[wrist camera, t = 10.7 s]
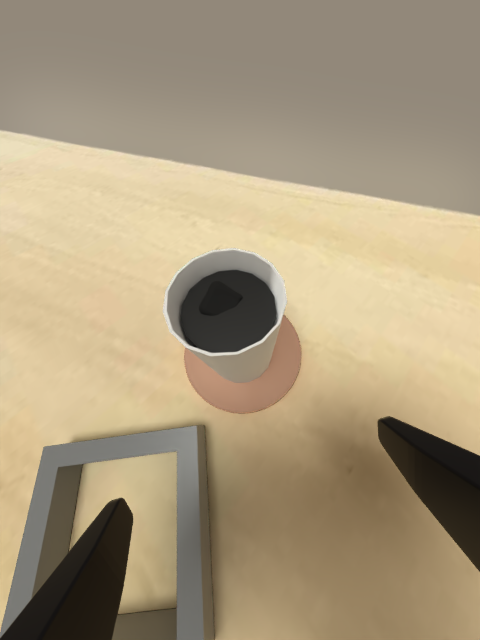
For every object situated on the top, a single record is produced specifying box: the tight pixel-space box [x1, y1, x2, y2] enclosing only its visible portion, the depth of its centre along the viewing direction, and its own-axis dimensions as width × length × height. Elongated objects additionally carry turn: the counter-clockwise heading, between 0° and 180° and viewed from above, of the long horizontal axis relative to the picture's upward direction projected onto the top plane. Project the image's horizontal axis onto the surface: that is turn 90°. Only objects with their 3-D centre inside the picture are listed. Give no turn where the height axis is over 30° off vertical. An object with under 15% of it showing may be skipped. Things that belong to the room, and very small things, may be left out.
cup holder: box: [0, 426, 215, 640], centre depth 15 cm, size 12×12×2 cm
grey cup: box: [163, 248, 287, 383], centre depth 16 cm, size 7×7×10 cm
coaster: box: [184, 315, 301, 413], centre depth 21 cm, size 11×11×1 cm
